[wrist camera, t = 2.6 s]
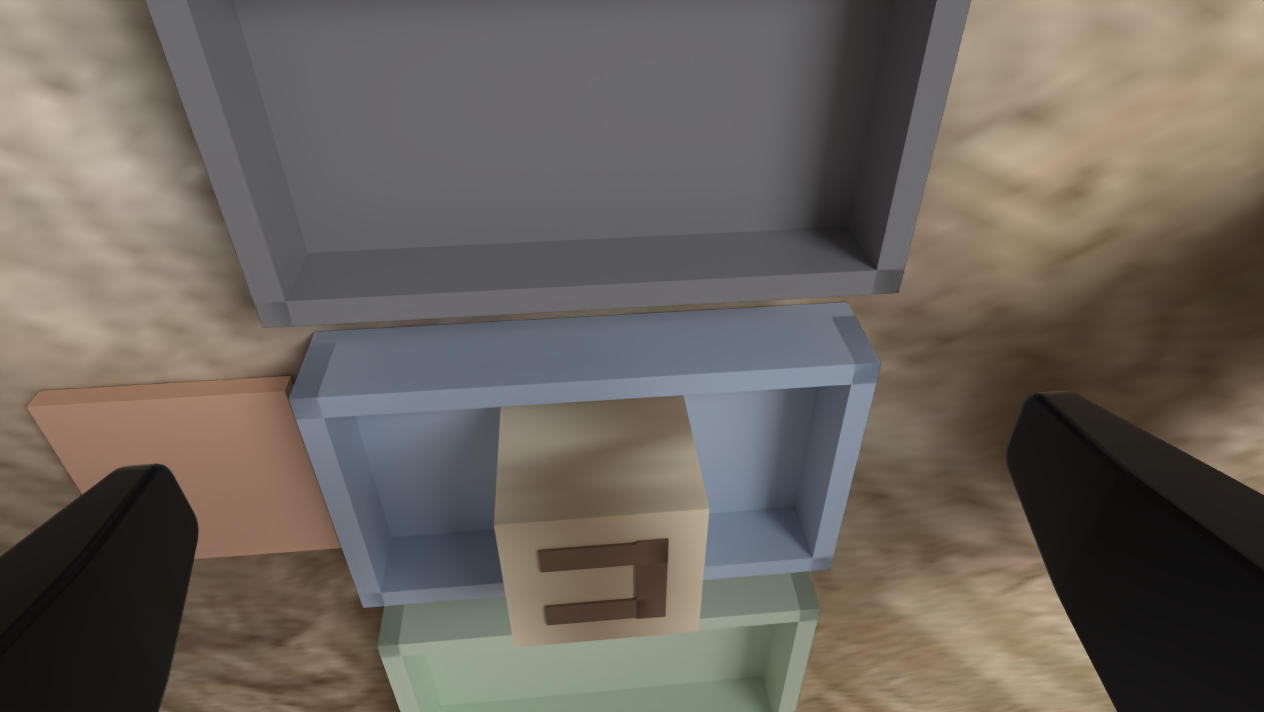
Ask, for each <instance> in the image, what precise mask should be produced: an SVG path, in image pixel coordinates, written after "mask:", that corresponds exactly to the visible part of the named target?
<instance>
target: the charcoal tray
mask: <svg viewBox="0 0 1264 712" xmlns="http://www.w3.org/2000/svg"><path fill="white" fill-rule="evenodd" d="M146 3H147V6H148V9H149V12H150V14H151V17H152V20H153V23H154V26H155V28H156V31H157V34H158V37H159V39H160V42H161V45H162V48H163V51H164V53H165V56H166V59H167V62H168V65H169V67H170V70H171V73H172V76H173V79H174V81H175V84H176V87H177V90H178V92H179V95H180V98H181V101H182V104H183V106H184V109H185V112H186V115H187V118H188V120H189V123H190V126H191V129H192V132H193V134H194V137H195V140H196V143H197V145H198V148H199V151H200V154H201V157H202V159H203V162H204V165H205V168H206V171H207V173H208V176H209V179H210V182H211V185H212V187H213V190H214V193H215V196H216V198H217V201H218V204H219V207H220V210H221V212H222V215H223V218H224V221H225V224H226V226H227V229H228V232H229V235H230V238H231V240H232V243H233V246H234V249H235V252H236V254H237V257H238V260H239V263H240V265H241V268H242V271H243V274H244V277H245V279H246V282H247V285H248V288H249V291H250V293H251V296H252V299H253V302H254V305H255V307H256V310H257V313H258V316H259V318H260V321H261V324H262V327H263V328H269V327H288V326H306V325H324V324H342V323H360V322H379V321H397V320H415V319H433V318H451V317H469V316H488V315H506V314H524V313H542V312H560V311H579V310H597V309H615V308H633V307H651V306H669V305H688V304H706V303H724V302H742V301H760V300H778V299H797V298H815V297H833V296H851V295H869V294H888V293H899V290H900V286H901V281H902V277H903V273H904V269H905V265H906V261H907V257H908V253H909V249H910V245H911V241H912V237H913V233H914V229H915V225H916V221H917V217H918V213H919V209H920V205H921V201H922V197H923V193H924V189H925V185H926V181H927V177H928V173H929V169H930V164H931V160H932V156H933V152H934V148H935V144H936V140H937V136H938V132H939V128H940V124H941V120H942V116H943V112H944V108H945V104H946V100H947V96H948V92H949V88H950V84H951V80H952V76H953V72H954V68H955V64H956V60H957V56H958V51H959V47H960V43H961V39H962V35H963V31H964V27H965V23H966V19H967V15H968V11H969V7H970V3H971V0H146Z"/></svg>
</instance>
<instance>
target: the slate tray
mask: <svg viewBox="0 0 1264 712" xmlns="http://www.w3.org/2000/svg"><path fill="white" fill-rule="evenodd" d="M880 366H881V361H880V359H879V358H878V356H877V354H876V352H875V351H874V349H873V347H872V345H871V343H870V342H869V340H868V338H867V336H866V335H865V333H864V331H863V329H862V328H861V326H860V324H859V322H858V320H857V319H856V317H855V315H854V313H853V312H852V310H851V308H850V306H849V305H848V303H847V302H841V303H823V304H805V305H788V306H770V307H752V308H734V309H716V310H698V311H680V312H662V313H644V314H626V315H608V316H590V317H572V318H554V319H536V320H518V321H500V322H482V323H464V324H446V325H428V326H410V327H392V328H374V329H356V330H338V331H320V332H314V335H313V337H312V340H311V342H310V345H309V348H308V350H307V353H306V355H305V358H304V361H303V363H302V366H301V368H300V371H299V373H298V376H297V379H296V381H295V384H294V386H293V389H292V392H291V394H290V397H289V402H290V405H291V408H292V411H293V413H294V416H295V419H296V422H297V424H298V427H299V430H300V433H301V436H302V438H303V441H304V444H305V447H306V450H307V452H308V455H309V458H310V461H311V464H312V466H313V469H314V472H315V475H316V477H317V480H318V483H319V486H320V489H321V491H322V494H323V497H324V500H325V503H326V505H327V508H328V511H329V514H330V517H331V519H332V522H333V525H334V528H335V531H336V533H337V536H338V539H339V542H340V544H341V547H342V550H343V553H344V556H345V558H346V561H347V564H348V567H349V570H350V572H351V575H352V578H353V581H354V584H355V586H356V589H357V592H358V595H359V597H360V600H361V603H362V606H363V608H367V607H379V606H391V605H404V604H416V603H428V602H440V601H452V600H465V599H477V598H489V597H501V596H506V595H505V589H504V583H503V577H502V571H501V565H500V559H499V553H498V547H497V541H496V535H495V529H494V515H495V497H496V479H497V462H498V444H499V427H500V409H501V407H506V406H521V405H537V404H553V403H568V402H584V401H600V400H615V399H631V398H647V397H662V396H678V395H684V400H685V404H686V408H687V413H688V417H689V422H690V426H691V430H692V435H693V439H694V443H695V448H696V452H697V457H698V461H699V465H700V470H701V474H702V479H703V483H704V487H705V492H706V496H707V501H708V505H709V519H708V530H707V542H706V553H705V564H704V575H703V580H709V579H721V578H733V577H746V576H758V575H770V574H782V573H794V572H807V571H819V570H830V568H831V564H832V560H833V556H834V552H835V548H836V544H837V540H838V536H839V532H840V528H841V524H842V520H843V516H844V511H845V507H846V503H847V499H848V495H849V491H850V487H851V483H852V479H853V475H854V471H855V467H856V463H857V459H858V455H859V451H860V447H861V443H862V439H863V435H864V431H865V427H866V423H867V419H868V415H869V411H870V407H871V403H872V398H873V394H874V390H875V386H876V382H877V378H878V374H879V370H880Z"/></svg>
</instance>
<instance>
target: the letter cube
mask: <svg viewBox="0 0 1264 712" xmlns="http://www.w3.org/2000/svg"><path fill="white" fill-rule="evenodd" d="M708 519H709V505H708V501H707V496H706V492H705V487H704V483H703V479H702V474H701V470H700V465H699V461H698V457H697V452H696V448H695V443H694V439H693V435H692V430H691V426H690V422H689V417H688V413H687V408H686V404H685V400H684V395H678V396H662V397H647V398H631V399H615V400H600V401H584V402H568V403H553V404H537V405H521V406H506V407H501V409H500V427H499V444H498V462H497V479H496V497H495V515H494V529H495V535H496V541H497V547H498V553H499V559H500V565H501V571H502V577H503V583H504V589H505V595H506V600H507V606H508V612H509V618H510V624H511V630H512V636H513V642H514V648H516V647H527V646H539V645H550V644H562V643H573V642H585V641H596V640H608V639H619V638H631V637H642V636H654V635H665V634H677V633H688V632H699V620H700V609H701V598H702V587H703V575H704V564H705V553H706V542H707V530H708Z"/></svg>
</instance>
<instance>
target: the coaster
mask: <svg viewBox="0 0 1264 712" xmlns="http://www.w3.org/2000/svg"><path fill="white" fill-rule="evenodd" d="M293 386H294V384H293V381H292V378H291V376H280V377H263V378H246V379H229V380H213V381H196V382H179V383H162V384H146V385H129V386H112V387H95V388H78V389H62V390H45V391H39V392H38V393H37V394H36V396H35V397H34V398H33V399H32V401H31V402H30V403H29V404H28V406H27V409H28V410H29V412H30V413H31V415H32V416H33V418H34V420H35V421H36V423H37V424H38V426H39V427H40V429H41V431H42V432H43V434H44V435H45V437H46V438H47V440H48V442H49V443H50V445H51V446H52V448H53V449H54V451H55V453H56V454H57V456H58V457H59V459H60V460H61V462H62V464H63V465H64V467H65V468H66V470H67V471H68V473H69V475H70V476H71V478H72V479H73V481H74V483H75V484H76V486H77V487H78V489H79V490H80V492H81V494H83V493H85V492H86V491H87V490H88V489H90V488H91V487H92V486H94V485H95V484H96V483H98V482H99V481H100V480H102V479H103V478H104V477H106V476H107V475H108V474H110V473H111V472H112V471H114V470H115V469H117V468H120V467H124V466H130V465H142V464H154V463H158V464H163V465H165V466H166V467H168V468H169V469H170V470H171V472H172V473H173V475H174V476H175V478H176V480H177V482H178V484H179V486H180V487H181V489H182V491H183V493H184V495H185V496H186V498H187V500H188V502H189V504H190V506H191V507H192V509H193V511H194V513H195V515H196V518H197V522H198V528H199V534H198V542H197V547H196V552H195V557H194V559H205V558H218V557H231V556H244V555H257V554H270V553H283V552H297V551H310V550H323V549H336V548H341V544H340V542H339V539H338V536H337V533H336V531H335V528H334V525H333V522H332V519H331V517H330V514H329V511H328V508H327V505H326V503H325V500H324V497H323V494H322V491H321V489H320V486H319V483H318V480H317V477H316V475H315V472H314V469H313V466H312V464H311V461H310V458H309V455H308V452H307V450H306V447H305V444H304V441H303V438H302V436H301V433H300V430H299V427H298V424H297V422H296V419H295V416H294V413H293V411H292V408H291V405H290V402H289V397H290V394H291V392H292V389H293Z"/></svg>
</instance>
